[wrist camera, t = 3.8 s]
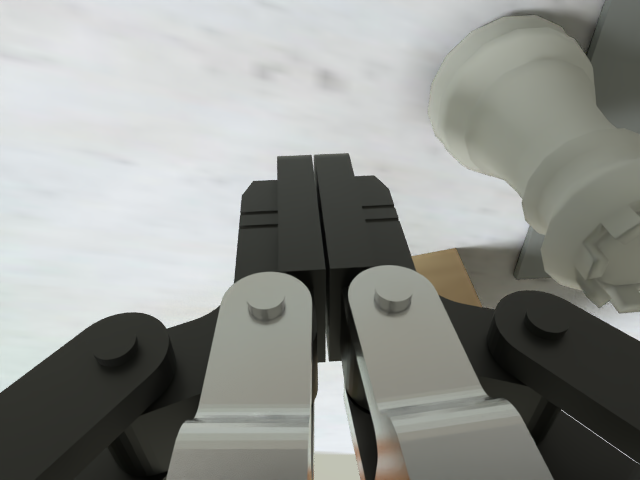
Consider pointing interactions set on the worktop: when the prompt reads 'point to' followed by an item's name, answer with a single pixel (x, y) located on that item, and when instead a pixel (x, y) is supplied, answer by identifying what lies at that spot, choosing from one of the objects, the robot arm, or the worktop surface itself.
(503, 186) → the worktop surface
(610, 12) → the mat
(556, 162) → the rook chess piece
